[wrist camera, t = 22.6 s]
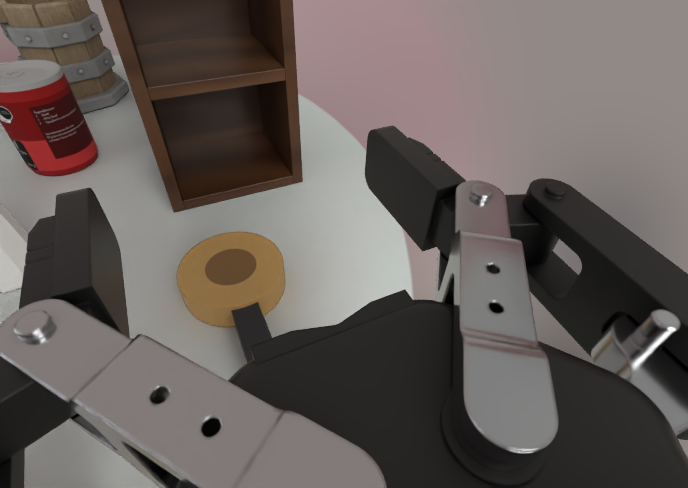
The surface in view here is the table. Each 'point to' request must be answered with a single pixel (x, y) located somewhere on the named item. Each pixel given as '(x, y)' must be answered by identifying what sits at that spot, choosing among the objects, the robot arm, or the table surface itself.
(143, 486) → the table surface
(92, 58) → the tankard
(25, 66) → the canned food
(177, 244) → the table surface
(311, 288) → the table surface
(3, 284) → the salt shaker
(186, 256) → the disc with black handle
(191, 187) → the wooden cabinet
